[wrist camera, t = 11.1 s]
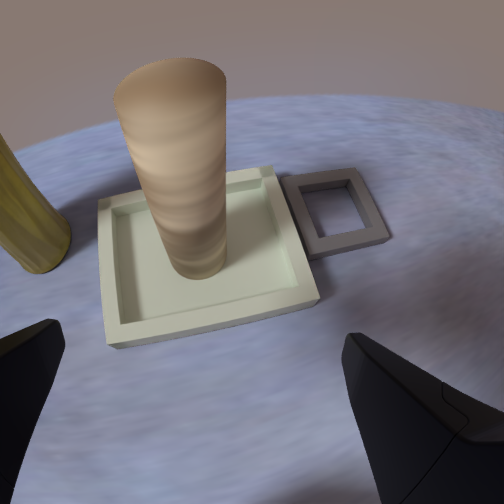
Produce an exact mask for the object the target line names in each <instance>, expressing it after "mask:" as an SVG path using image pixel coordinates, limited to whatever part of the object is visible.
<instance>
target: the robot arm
mask: <svg viewBox="0 0 504 504" xmlns="http://www.w3.org/2000/svg"><path fill="white" fill-rule="evenodd" d="M64 349H65V339H64V336H63V332H62V329H61V325H60V322H59V321H58V320H55V319H45V320H43V321H40V322H38V323H36V324H33V325H31V326H29V327H26V328H24V329H22V330H20V331H17V332H15V333H13V334H10V335H8V336H6V337H3V338H1V339H0V504H10V502H11V499H12V495H13V491H14V487H15V484H16V481H17V478H18V474H19V471H20V468H21V465H22V462H23V459H24V456H25V453H26V450H27V448H28V445H29V442H30V439H31V437H32V434H33V431H34V429H35V426H36V423H37V421H38V418H39V416H40V413H41V411H42V408H43V406H44V404H45V401H46V399H47V397H48V394H49V392H50V390H51V387H52V385H53V382H54V379H55V376H56V373H57V370H58V367H59V364H60V361H61V358H62V355H63V352H64ZM341 360H342V366H343V371H344V375H345V380H346V385H347V390H348V395H349V400H350V403H351V407H352V410H353V413H354V416H355V419H356V422H357V425H358V428H359V431H360V434H361V438H362V441H363V444H364V447H365V450H366V453H367V457H368V460H369V463H370V466H371V469H372V473H373V476H374V479H375V483H376V486H377V489H378V493H379V496H380V500H381V503H382V504H504V412H502V411H500V410H497V409H495V408H493V407H491V406H489V405H487V404H484V403H482V402H480V401H478V400H476V399H474V398H472V397H470V396H468V395H466V394H464V393H462V392H460V391H459V390H457V389H455V388H453V387H451V386H450V385H448V384H446V383H445V382H442V381H441V380H439V379H438V378H436V377H434V376H433V375H431V374H429V373H428V372H426V371H424V370H422V369H421V368H419V367H417V366H416V365H414V364H412V363H411V362H409V361H407V360H406V359H404V358H402V357H401V356H399V355H397V354H395V353H394V352H392V351H390V350H389V349H387V348H385V347H384V346H382V345H380V344H379V343H377V342H375V341H374V340H372V339H370V338H369V337H367V336H365V335H364V334H362V333H349V334H347V336H346V339H345V344H344V348H343V352H342V357H341Z"/></svg>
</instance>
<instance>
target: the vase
mask: <svg viewBox="0 0 504 504" xmlns="http://www.w3.org/2000/svg"><path fill="white" fill-rule="evenodd" d="M70 240H71V232H70V226H69V223H68V222H67V220H66V219H65V218H64V217H63V216H62V215H61V214H59V213H58V212H57V211H56V210H55V208H54V207H53V206H52V205H51V204H50V203H49V202H48V200H47V199H46V198H45V197H44V196H43V194H42V193H41V192H40V191H39V190H38V189H37V187H36V186H35V185H34V184H33V182H32V181H31V179H30V178H29V177H28V175H27V174H26V172H25V171H24V169H23V168H22V167H21V165H20V164H19V162H18V161H17V159H16V157H15V156H14V154H13V153H12V151H11V150H10V148H9V147H8V145H7V144H6V142H5V140H4V139H3V137H2V135H1V134H0V245H1V246H2V247H3V248H4V249H5V250H6V251H7V252H8V253H9V254H10V255H11V256H12V257H13V258H14V259H15V260H16V261H17V262H19V263H20V265H21V266H22V267H23V268H24V269H25V270H26V271H28V272H30V273H33V274H41V273H45V272H47V271H49V270H51V269H53V268H54V267H55V266H56V265H57V264H58V263H59V262H60V261H61V260H62V259H63V257H64V256H65V254H66V252H67V250H68V247H69V244H70Z"/></svg>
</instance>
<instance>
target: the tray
mask: <svg viewBox="0 0 504 504" xmlns="http://www.w3.org/2000/svg"><path fill="white" fill-rule="evenodd" d="M226 235H227V256H226V261H225V263H224V265H223V267H222V268H221V269H220V271H219V272H217V273H216V274H215V275H213V276H212V277H210V278H207V279H203V280H191V279H187V278H185V277H183V276H181V275H180V274H178V273H177V272H176V271H175V269H174V268H173V266H172V264H171V262H170V260H169V257H168V255H167V252H166V250H165V247H164V245H163V242H162V240H161V237H160V235H159V232H158V230H157V227H156V224H155V222H154V219H153V217H152V214H151V211H150V209H149V206H148V203H147V201H146V198H145V195H144V192H143V190H142V189H140V190H136V191H132V192H127V193H123V194H119V195H115V196H111V197H107V198H103V199H99V200H98V250H99V270H100V285H101V297H102V308H103V317H104V326H105V334H106V341H107V345H109V346H111V347H113V348H116V349H123V348H129V347H135V346H140V345H146V344H151V343H157V342H162V341H167V340H172V339H177V338H182V337H187V336H192V335H197V334H202V333H207V332H211V331H216V330H220V329H225V328H229V327H234V326H238V325H242V324H247V323H251V322H255V321H259V320H263V319H267V318H271V317H275V316H279V315H283V314H287V313H291V312H295V311H299V310H302V309H306V308H310V307H313V306H314V305H315V304H316V302H317V301H318V300H319V299H320V296H319V293H318V290H317V287H316V284H315V281H314V278H313V275H312V272H311V270H310V267H309V264H308V261H307V258H306V255H305V252H304V250H303V247H302V244H301V241H300V238H299V236H298V233H297V230H296V227H295V225H294V222H293V219H292V217H291V214H290V211H289V208H288V206H287V203H286V200H285V198H284V195H283V193H282V190H281V187H280V185H279V182H278V179H277V177H276V174H275V172H274V169H273V167H272V165H270V166H263V167H256V168H250V169H244V170H237V171H231V172H226Z"/></svg>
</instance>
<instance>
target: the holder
mask: <svg viewBox="0 0 504 504" xmlns="http://www.w3.org/2000/svg"><path fill="white" fill-rule="evenodd" d="M279 185H280V187H281V190H282V193H283V195H284V198H285V200H286V203H287V206H288V208H289V211H290V214H291V217H292V219H293V222H294V225H295V227H296V230H297V233H298V236H299V238H300V241H301V244H302V247H303V250H304V252H305V255H306V258H307V261H310V260H314V259H318V258H323V257H327V256H331V255H335V254H340V253H344V252H348V251H352V250H357V249H361V248H365V247H369V246H373V245H378V244H382V243H385V242H386V240H387V239H388V238H389V237H390V236H389V233H388V231H387V229H386V227H385V225H384V223H383V221H382V218H381V216H380V214H379V212H378V210H377V208H376V206H375V204H374V202H373V200H372V198H371V196H370V194H369V192H368V190H367V188H366V186H365V184H364V182H363V181H362V179H361V177H360V175H359V173H358V171H357V169H356V168H347V169H339V170H331V171H323V172H315V173H308V174H301V175H294V176H287V177H281V178H280V183H279ZM345 186H346V187H347V189H348V191H349V193H350V195H351V197H352V199H353V201H354V204H355V206H356V208H357V210H358V212H359V214H360V216H361V219H362V221H363V223H364V225H365V227H366V228H365V229H360V230H356V231H351V232H346V233H341V234H337V235H332V236H327V237H322V238H319V237H318V235H317V232H316V230H315V227H314V225H313V222H312V220H311V217H310V214H309V212H308V210H307V207H306V205H305V202H304V200H303V197H302V195H301V193H306V192H312V191H319V190H325V189H332V188H338V187H345Z"/></svg>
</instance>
